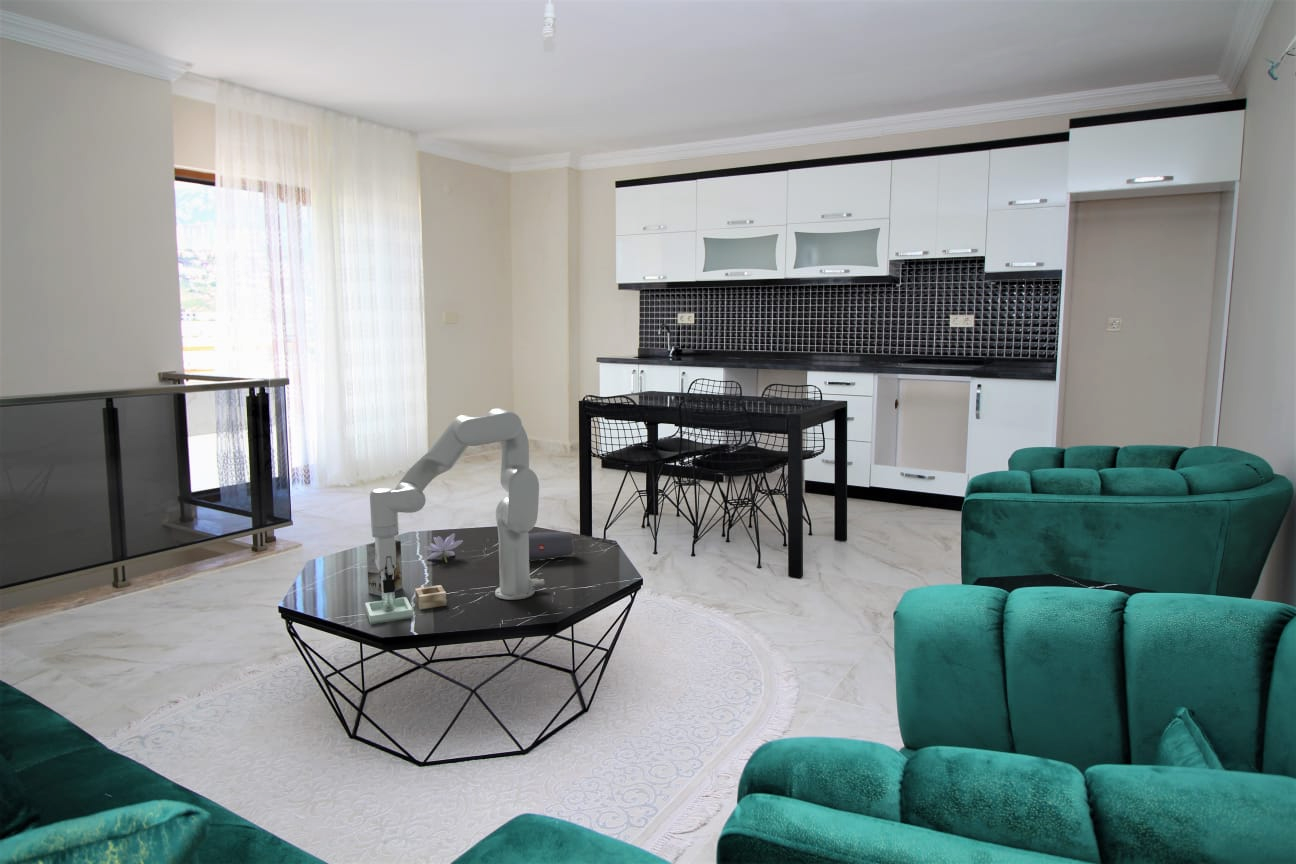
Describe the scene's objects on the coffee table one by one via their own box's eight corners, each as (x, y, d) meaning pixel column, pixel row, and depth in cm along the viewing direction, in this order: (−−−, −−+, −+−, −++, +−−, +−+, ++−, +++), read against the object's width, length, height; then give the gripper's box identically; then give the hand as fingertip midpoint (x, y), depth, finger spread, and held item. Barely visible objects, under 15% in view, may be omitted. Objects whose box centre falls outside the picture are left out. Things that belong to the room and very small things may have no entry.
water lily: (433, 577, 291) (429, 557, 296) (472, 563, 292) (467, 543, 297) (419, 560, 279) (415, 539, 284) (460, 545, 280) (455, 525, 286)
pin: (381, 608, 237) (380, 569, 235) (394, 606, 238) (392, 568, 237) (383, 612, 233) (381, 573, 232) (395, 610, 235) (394, 571, 233)
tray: (406, 604, 244) (406, 596, 244) (413, 617, 233) (412, 609, 233) (365, 610, 239) (365, 602, 238) (370, 624, 228) (369, 616, 228)
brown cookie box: (382, 596, 251) (379, 547, 249) (367, 593, 254) (365, 544, 252) (403, 588, 259) (401, 540, 257) (389, 585, 262) (387, 538, 260)
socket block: (441, 597, 250) (440, 585, 250) (446, 605, 243) (446, 592, 243) (415, 601, 247) (414, 588, 246) (419, 609, 240) (419, 596, 239)
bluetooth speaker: (510, 565, 283) (509, 538, 282) (508, 557, 292) (507, 531, 291) (573, 560, 289) (572, 534, 287) (569, 553, 298) (569, 527, 296)
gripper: (368, 525, 238) (371, 583, 241) (375, 538, 223) (378, 600, 226) (394, 522, 241) (397, 580, 244) (402, 535, 227) (405, 596, 229)
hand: (388, 589), depth 235 cm, fingers closed on pin, 3 cm apart
